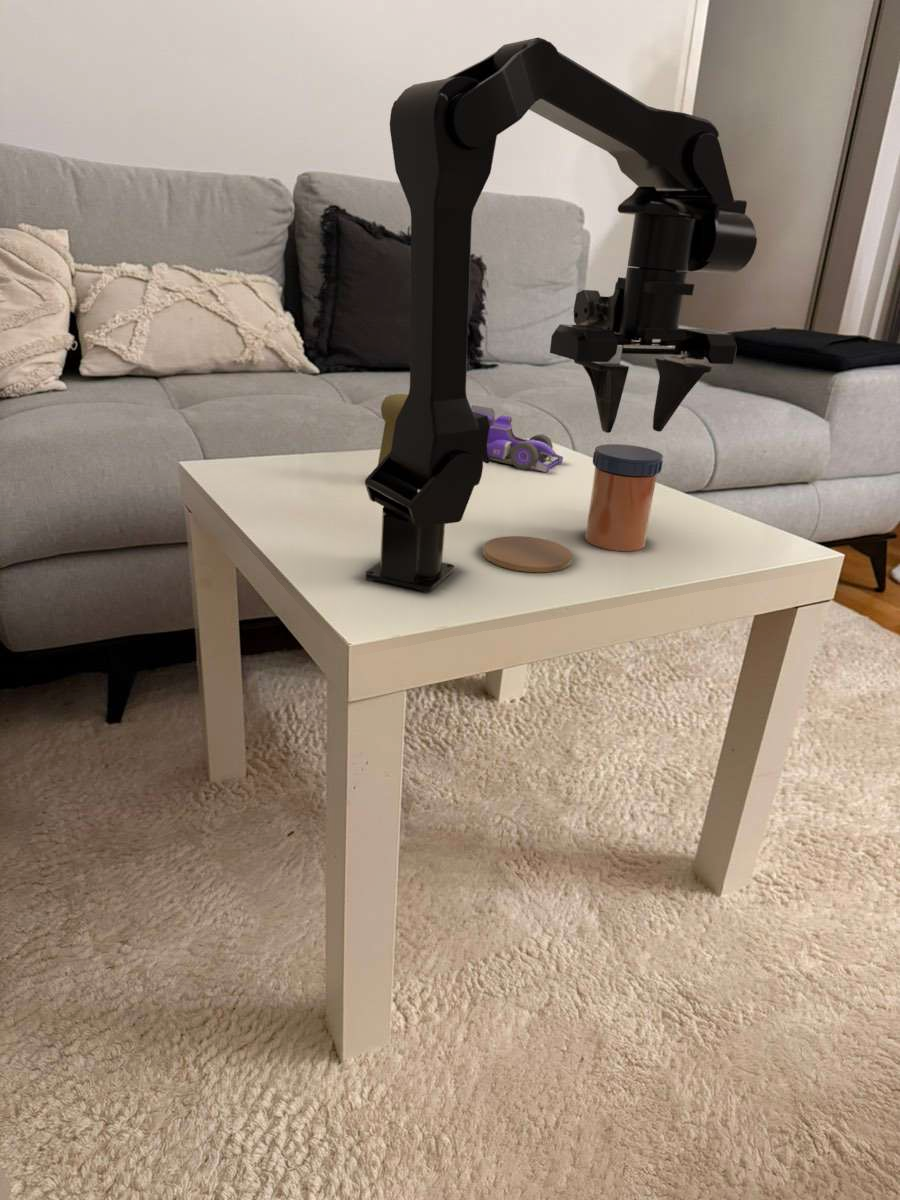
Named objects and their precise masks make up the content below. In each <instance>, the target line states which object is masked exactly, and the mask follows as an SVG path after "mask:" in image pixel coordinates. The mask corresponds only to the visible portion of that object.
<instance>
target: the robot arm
mask: <svg viewBox="0 0 900 1200" xmlns="http://www.w3.org/2000/svg"><path fill="white" fill-rule="evenodd" d="M528 111H530V112H533V113H534V114H536V115H538V116H540V117H542V118H544V119H545V120H547V121H550V122H551V123H553V124H555V125H556V126H559V127H560V128H563V130H564V129H565V130H566V131H568V132H570V133H572V134H574V135H576V136H577V137H579V138H582V139H583V140H585V141H587V142H589V143H590V144H592V145H594V146H596V147H598V148H600V149H602V150H604V151H606V152H607V153H608V154H609V155H610V156H612V157H613V158H614V159H615V160H616V163H617V165H618V167H619V170H620V172H621V173H622V174H623V175H625V176H626V177H627V178H628V179H629V180H630V181H631V182H633V183H634V184H635V185H636V186H637V187H636V188H635V189H634V191H633V193H632V194H631V195H630V196H628V197H627V198H625V199H624V200H623V201H622V202H621V203H620V204H618V206H617V212H618V213H619V214H625V215H634V219H633V225H632V232H631V238H630V246H629V253H628V261H627V267H626V274H625V277H619V276H618V277H617V281H616V282H615V286H614V291H613V294H612V295H610V296H605V295H603V296H601V293H600V292H599V290H594V289H582V290H580V291H579V292H576V295H575V300H574V305H573V322H574V324H565V323H563V324H562V323H559V325H558V326H557V327H556V329H555V330H554V332H553V333H552V334H551V339H550V348H549V353H550V354H553V355H555V356H559V357H563V358H567V359H569V360H573V363H574V364H577V365H580V366H582V368H583V369H584V370H585V372H586V373H587V375H588V377H589V381H590V382H591V386H592V389H593V392H594V397H595V402H596V407H597V412H598V413H597V414H598V417H599V422H600V428H601V431H602V432H604V433H608V434H610V433H611V432H612V431H613V428H614V424H615V423H616V420H617V419H616V418H617V416H618V411H619V408H620V404H621V400H622V397H623V393H624V389H625V384H626V381H627V376H628V373H629V369H630V366H628V365H625V364H622V363H621V360H622V355H623V354H624V355H664V357H663V358H660V357H655V359H654V361H655V364H656V368H657V372H658V376H659V379H658V385H657V389H656V398H655V404H654V410H653V416H652V430H654V431H655V432H658V433H659V432H662V431H663V430H664V429H665V427H666V426H667V424H668V423H669V421H670V420H671V418H672V417H673V415H674V414H675V412H676V411H677V409H678V408H679V407H680V405H682V402H683V401H684V400H685V398H686V397H687V395H688V394H689V393H690V392H691V390H693V388H694V387H695V385H697V383H698V382H699V381H700V379H701V378H702V377H703V376H704V375H705V374H706V373H711V372H712V369H713V366H709V365H705V364H704V363H705V359H707V361H708V363H709V364H712V365H734V364H735V360H736V354H737V349H738V345H737V342H736V340H735V336H734V334H730V333H725V332H720V331H715V330H711V329H703V328H681V327H679V326H680V320H681V315H682V308H683V302H684V296H693V295H694V291H695V290H694V289H695V284H694V283H687V278H688V274H689V273H688V272H696V273H697V272H698V273H713V274H726V275H727V274H729V275H730V274H735V273H738V272H739V271H741V270H743V269H744V268H745V267H746V266H747V265H748V264H749V262H750V261H751V260H752V258H753V256H754V254H755V252H756V248H757V244H758V237H757V233H756V228H755V225H754V222H753V221H752V219H751V218H750V217H749V215H747V214H746V211H747V205H748V202H747V200H744V199H735V198H734V194H733V191H732V186H731V183H730V179H729V174H728V171H727V166H726V162H725V159H724V154H723V150H722V147H721V142H720V141H719V136H720V134H719V130H718V129H717V127H716V125H714V123H713V122H712V121H710V120H708V119H706V118H702V117H699V116H696V115H693V114H689V113H686V112H680V111H673V110H667V109H661V108H656V107H653V106H649V105H648V104H645V103H644V102H642V101H640V100H639V99H637V98H636V97H634V96H633V95H630V94H629V93H627V92H626V91H624V90H623V89H620V88H619V87H617V86H616V85H614V84H613V83H611V82H609V81H608V80H606V79H604V78H602V77H601V76H599V75H598V74H596V73H594V72H593V71H591V70H589V69H588V68H586V67H585V66H583V65H582V64H580V63H578V62H577V61H574V60H573V59H571V58H570V57H568V56H566V55H564V54H563V53H562V52H559V50H558V49H557V47H556V46H555V45H554V44H553V43H552V42H551V41H548V40H547V39H545V38H543V37H534V38H529V39H524V40H520V41H515V42H510V43H507V44H503V45H501V46H500V47H499V48H498V49H497V50H496V51H495V52H493V53H492V54H490V55H489V56H486V58H484V59H482V60H480V61H479V62H476V63H474V64H472V65H470V66H468V67H466V68H464V69H463V70H461V71H458V72H456V73H454V74H453V75H451V76H448V77H446V78H443V79H438V80H432V81H426V82H421V83H414V84H412V85H411V86H409V87H407V88H405V89H404V90H403V91H402V93H401V94H400V95H399V96H398V97H397V99H396V100H394V102H393V104H392V106H391V109H390V115H389V133H390V138H391V139H390V140H391V147H392V155H393V161H394V162H393V163H394V171H395V173H396V175H397V178H398V181H399V183H400V186H401V189H402V191H403V194H404V196H405V199H406V202H407V204H408V206H409V211H410V306H409V307H410V310H409V311H410V314H409V315H410V318H409V328H410V329H409V330H410V331H409V332H410V333H409V336H410V337H409V391H408V394H407V395H408V396H407V398H406V400H405V402H404V405H403V407H402V409H401V411H400V413H399V415H398V417H397V419H396V422H395V428H394V435H393V441H392V448H391V451H390V452H389V454H388V455H387V456H386V457H385V458H384V459H383V460H382V461H381V463H380V464H379V465H378V464H377V466H376V467H375V468H374V469H373V470H372V471H371V472H370V474H368V476H367V477H366V478H365V479H364V485H365V488H366V492H367V495H368V498H369V500H370V501H371V502H373V503H374V502H375V503H377V504H379V505H380V506H382V514H381V515H382V516H381V517H382V518H381V534H380V535H381V536H380V538H381V539H380V561H378V563H376V564H374V566H372V567H370V568H369V569H367V570H366V571H365V572H364V578H366V579H368V580H373V581H378V582H382V583H387V584H391V585H396V586H400V587H405V588H410V589H413V590H419V591H423V592H431V591H433V590H434V589H435V588H436V587H437V586H438V585H440V584H441V583H442V582H443V581H444V580H445V579H446V578H447V577H449V576H450V575H451V574H452V573H453V572H455V567H456V566H455V565H454V564H453V563H448V562H443V559H444V558H443V556H444V544H445V531H446V524H447V525H448V524H453V523H454V524H455V523H460V522H461V521H463V520H462V519H463V518H464V514H465V512H466V509H467V507H468V504H469V501H470V498H471V496H472V493H473V491H474V488H475V487H476V486H478V485H479V484H480V482H481V480H482V476H483V470H484V463H485V464H489V463H490V461H491V460H490V459H489V457H488V454H487V439H488V433H489V428H490V426H489V418H488V417H487V416H485V415H482V414H479V413H477V412H474V411H472V410H471V407H472V406H471V405H470V402H469V399H468V397H467V372H468V371H467V370H468V369H467V368H468V366H467V365H468V343H469V342H468V339H469V311H470V285H471V283H470V282H471V256H472V255H471V253H472V225H473V213H474V210H475V207H476V206H477V203H478V201H479V198H480V196H481V194H482V192H483V190H484V188H485V186H486V183H488V179H489V177H490V175H491V172H492V168H493V167H492V166H493V161H494V155H495V150H496V145H497V138H498V135H499V134H501V133H503V132H504V131H506V130H508V129H509V128H510V127H512V126H513V125H515V124H516V123H518V122H520V120H522V119H523V117H524V116H525V115H526V114H527V113H528Z"/></svg>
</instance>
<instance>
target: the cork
mask: <svg viewBox="0 0 900 1200" xmlns="http://www.w3.org/2000/svg"><path fill="white" fill-rule="evenodd" d="M407 396H408V394H405V393H394V394H388V395H387V396H385V397H384V399H383V400H382V402H381V406H380V412H381V418H382V419H383V420H384V426H383V431H382V437H381V438H382V439H381V445H380V450H379V457H378V462H377V466H378V465H379V464H380V463H381V461H382V460H383V459H384V458H385V457H386V456H387V455H388V454H389V452H390V451H391V448H392V441H393V435H394V428H395V422H396V419H397V417H398V415H399V413H400V411H401V409H402V407H403V405H404V402H405V400H406V398H407Z"/></svg>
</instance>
